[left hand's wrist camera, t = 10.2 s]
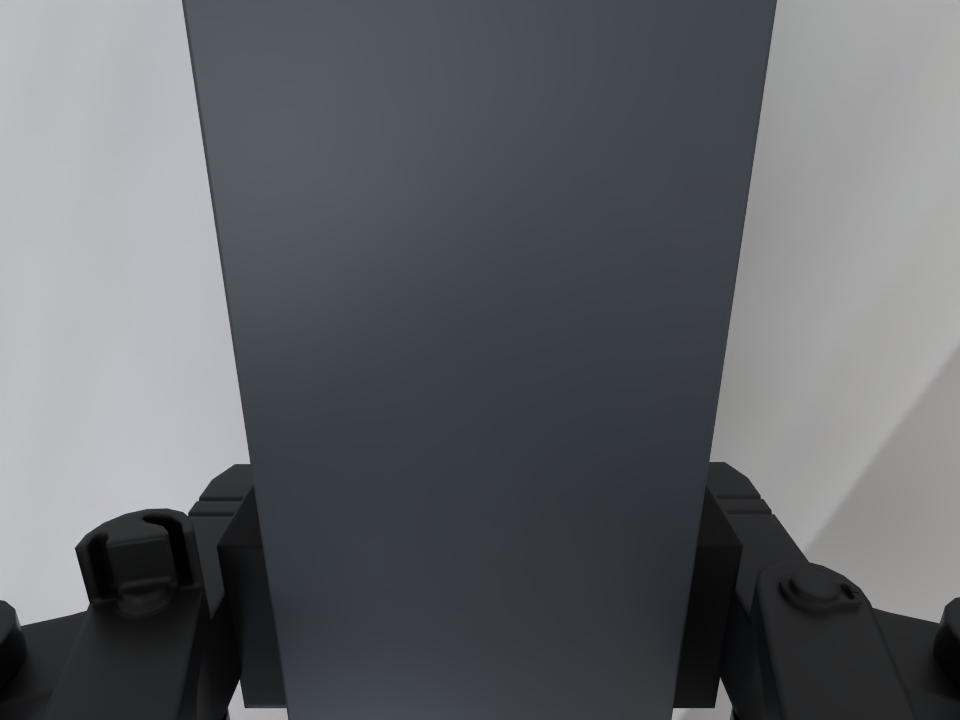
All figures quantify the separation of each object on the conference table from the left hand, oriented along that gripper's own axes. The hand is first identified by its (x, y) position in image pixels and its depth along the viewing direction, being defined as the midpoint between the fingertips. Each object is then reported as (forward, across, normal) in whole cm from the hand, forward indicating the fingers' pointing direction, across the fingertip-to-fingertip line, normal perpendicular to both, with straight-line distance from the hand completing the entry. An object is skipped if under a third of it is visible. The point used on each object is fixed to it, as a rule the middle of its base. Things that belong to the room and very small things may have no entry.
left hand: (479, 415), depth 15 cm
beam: (+1, 0, -28) cm, 28 cm away
